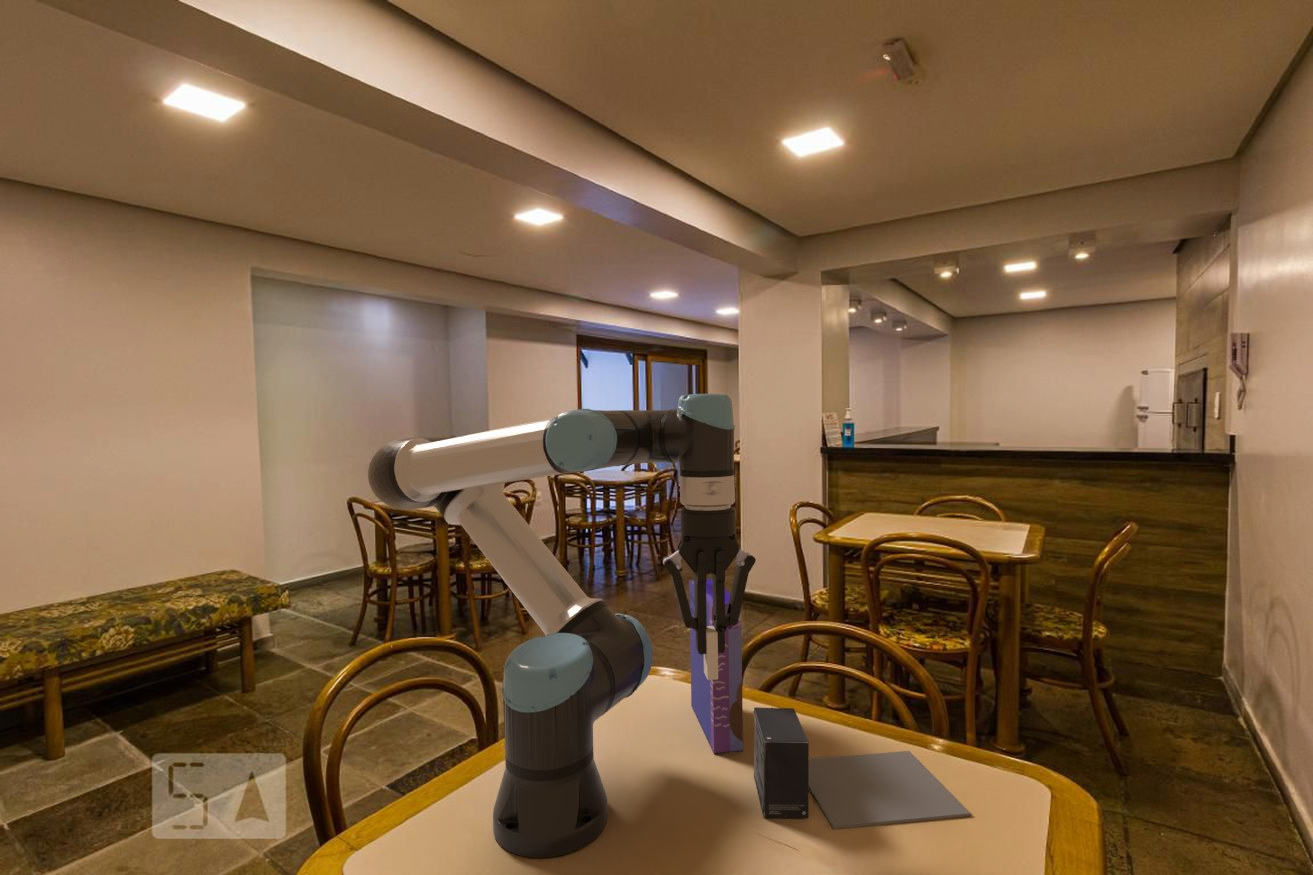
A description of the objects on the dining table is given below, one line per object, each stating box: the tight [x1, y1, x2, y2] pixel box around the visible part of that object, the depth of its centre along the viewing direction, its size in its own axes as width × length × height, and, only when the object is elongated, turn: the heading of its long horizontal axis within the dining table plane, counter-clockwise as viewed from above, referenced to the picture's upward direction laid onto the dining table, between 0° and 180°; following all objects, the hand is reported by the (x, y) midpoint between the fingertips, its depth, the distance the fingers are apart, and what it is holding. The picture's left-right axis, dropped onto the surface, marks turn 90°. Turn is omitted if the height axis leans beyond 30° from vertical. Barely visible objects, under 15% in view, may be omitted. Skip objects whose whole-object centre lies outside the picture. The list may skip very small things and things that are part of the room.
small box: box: [753, 706, 810, 819], centre depth 89 cm, size 11×6×10 cm, turn 179°
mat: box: [809, 750, 972, 830], centre depth 91 cm, size 19×16×1 cm
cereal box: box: [688, 577, 744, 755], centre depth 109 cm, size 17×5×24 cm, turn 9°
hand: (711, 675), depth 88 cm, fingers closed
